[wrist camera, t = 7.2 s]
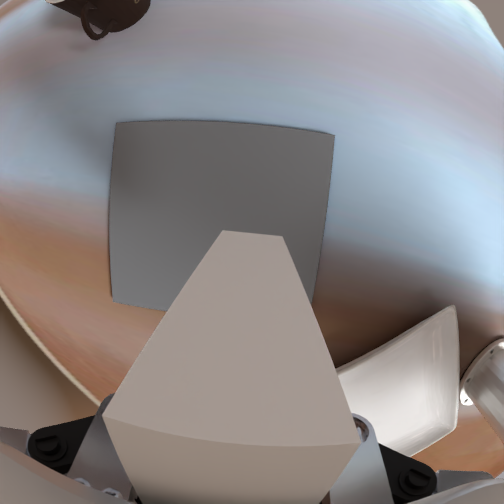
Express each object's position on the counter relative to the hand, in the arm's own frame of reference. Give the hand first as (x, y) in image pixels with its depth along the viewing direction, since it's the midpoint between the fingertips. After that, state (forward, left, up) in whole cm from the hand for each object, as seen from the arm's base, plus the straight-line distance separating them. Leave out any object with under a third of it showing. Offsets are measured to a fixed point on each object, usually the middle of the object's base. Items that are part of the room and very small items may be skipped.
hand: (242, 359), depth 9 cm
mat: (+4, -2, -16) cm, 17 cm away
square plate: (-18, +22, -17) cm, 33 cm away
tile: (0, 0, -3) cm, 3 cm away
